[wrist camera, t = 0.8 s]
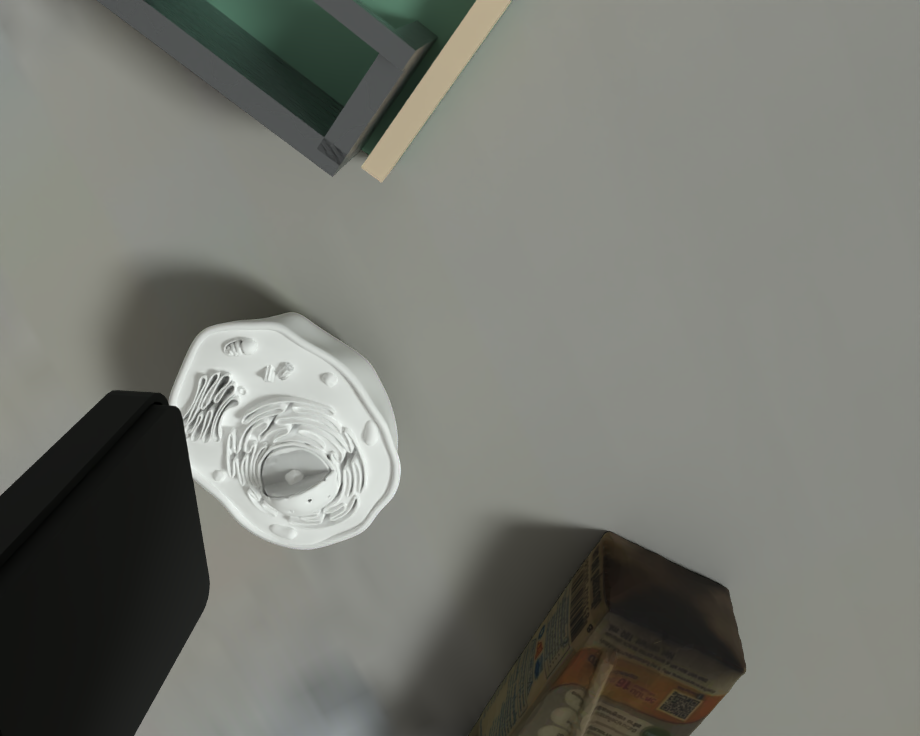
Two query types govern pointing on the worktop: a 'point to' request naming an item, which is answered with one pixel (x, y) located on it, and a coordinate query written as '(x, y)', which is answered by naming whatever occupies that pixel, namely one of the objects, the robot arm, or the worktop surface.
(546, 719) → the beverage carton
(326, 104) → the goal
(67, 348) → the worktop surface
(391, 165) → the pitch
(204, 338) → the cell model
